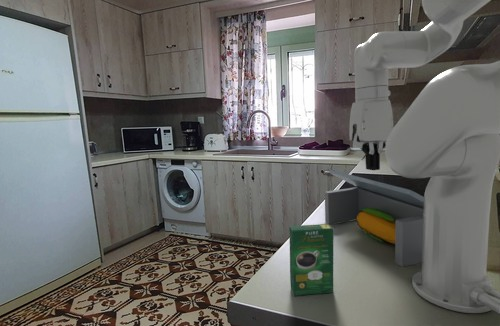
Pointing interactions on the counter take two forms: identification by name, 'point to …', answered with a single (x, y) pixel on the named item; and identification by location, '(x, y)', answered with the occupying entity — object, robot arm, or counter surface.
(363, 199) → the grey bridge shelf
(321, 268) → the coffee box
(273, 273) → the counter surface
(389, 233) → the corn
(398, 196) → the cover
